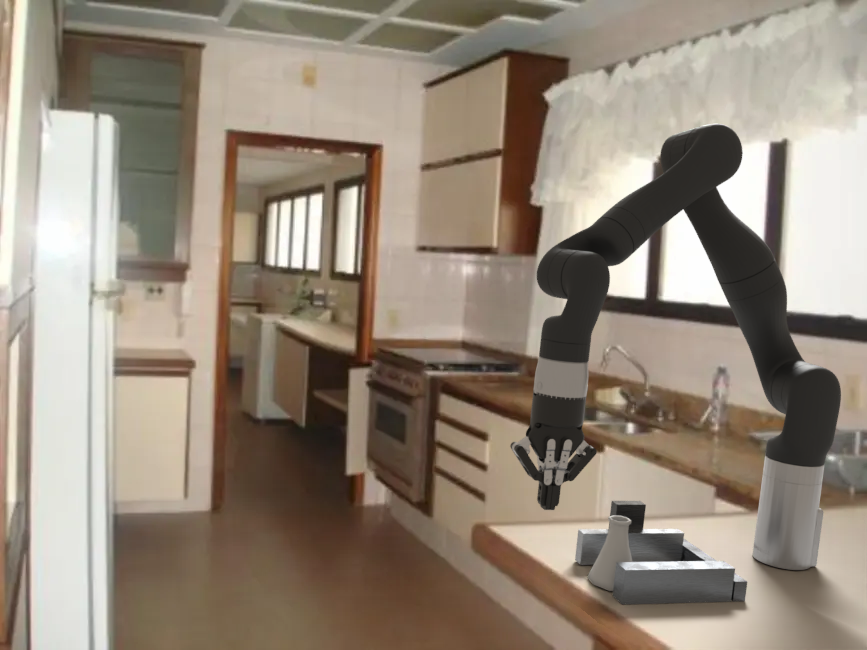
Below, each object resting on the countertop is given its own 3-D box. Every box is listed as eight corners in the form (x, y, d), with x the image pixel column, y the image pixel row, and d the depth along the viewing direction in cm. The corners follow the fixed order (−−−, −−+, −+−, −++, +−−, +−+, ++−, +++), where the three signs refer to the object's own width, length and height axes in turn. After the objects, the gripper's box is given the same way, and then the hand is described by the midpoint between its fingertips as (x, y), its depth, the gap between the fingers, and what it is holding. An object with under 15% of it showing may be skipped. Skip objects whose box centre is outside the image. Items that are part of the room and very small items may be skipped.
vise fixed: (679, 554, 157) (682, 524, 157) (744, 601, 139) (749, 568, 138) (568, 555, 152) (571, 525, 151) (621, 604, 134) (625, 570, 133)
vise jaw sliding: (668, 554, 156) (674, 501, 155) (680, 563, 152) (687, 508, 151) (570, 555, 151) (575, 500, 150) (580, 564, 148) (586, 508, 147)
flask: (608, 595, 137) (615, 528, 136) (578, 577, 143) (585, 512, 142) (647, 590, 140) (655, 524, 139) (616, 572, 146) (623, 509, 145)
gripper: (592, 387, 141) (578, 501, 143) (507, 383, 137) (495, 499, 139) (614, 397, 134) (600, 517, 135) (525, 393, 130) (512, 516, 132)
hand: (547, 508), depth 137 cm, fingers closed
